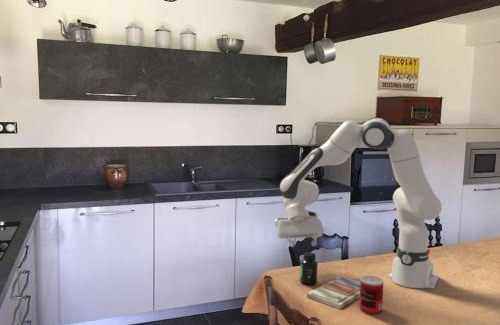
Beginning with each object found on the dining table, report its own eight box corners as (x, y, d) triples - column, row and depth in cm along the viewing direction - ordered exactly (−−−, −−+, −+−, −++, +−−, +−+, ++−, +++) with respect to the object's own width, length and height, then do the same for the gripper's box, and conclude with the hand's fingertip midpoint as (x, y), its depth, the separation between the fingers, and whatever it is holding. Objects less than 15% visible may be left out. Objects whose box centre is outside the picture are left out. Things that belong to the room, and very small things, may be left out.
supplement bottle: (298, 284, 173) (299, 255, 172) (301, 278, 179) (302, 250, 178) (315, 287, 171) (316, 257, 170) (318, 281, 177) (319, 252, 176)
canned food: (377, 304, 156) (379, 275, 155) (385, 315, 148) (386, 284, 147) (356, 304, 156) (358, 275, 155) (363, 314, 148) (364, 284, 147)
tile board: (340, 279, 179) (340, 275, 179) (371, 289, 170) (371, 284, 170) (306, 297, 161) (307, 291, 161) (339, 309, 152) (340, 303, 152)
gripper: (275, 214, 185) (281, 243, 176) (320, 213, 189) (328, 241, 181) (272, 221, 189) (278, 250, 181) (316, 220, 194) (324, 248, 186)
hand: (303, 245), depth 181 cm, fingers open, 8 cm apart
